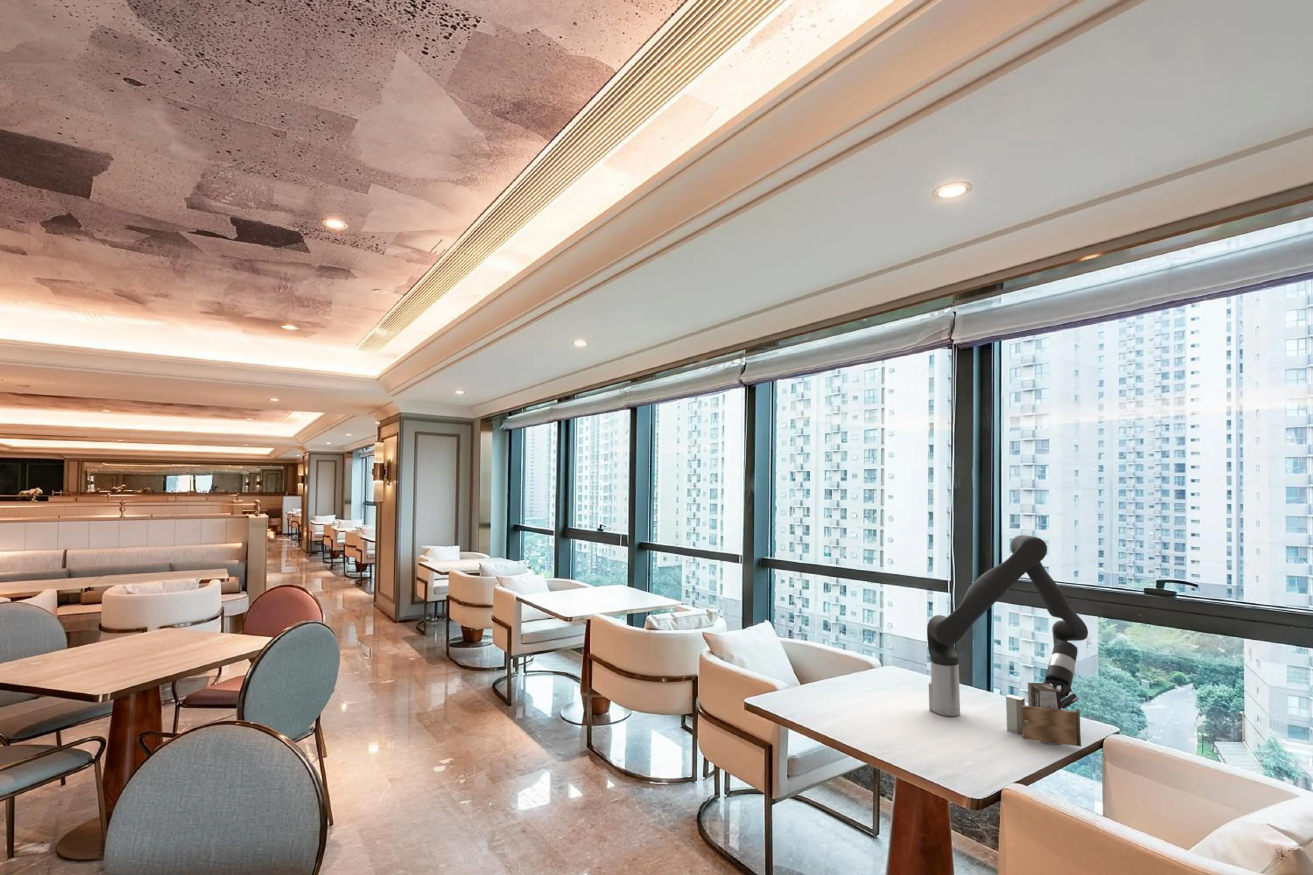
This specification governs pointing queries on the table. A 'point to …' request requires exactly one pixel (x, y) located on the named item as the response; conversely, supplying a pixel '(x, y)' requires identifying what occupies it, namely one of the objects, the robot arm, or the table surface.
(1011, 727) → the grey tall block
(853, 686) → the table surface
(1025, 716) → the wooden slab
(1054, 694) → the coffee box
